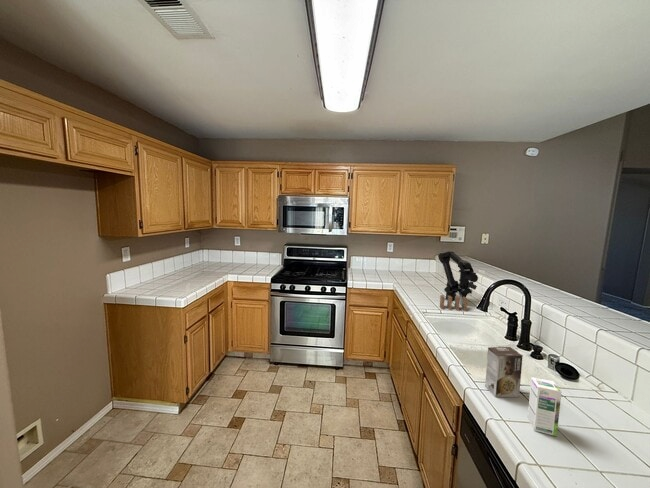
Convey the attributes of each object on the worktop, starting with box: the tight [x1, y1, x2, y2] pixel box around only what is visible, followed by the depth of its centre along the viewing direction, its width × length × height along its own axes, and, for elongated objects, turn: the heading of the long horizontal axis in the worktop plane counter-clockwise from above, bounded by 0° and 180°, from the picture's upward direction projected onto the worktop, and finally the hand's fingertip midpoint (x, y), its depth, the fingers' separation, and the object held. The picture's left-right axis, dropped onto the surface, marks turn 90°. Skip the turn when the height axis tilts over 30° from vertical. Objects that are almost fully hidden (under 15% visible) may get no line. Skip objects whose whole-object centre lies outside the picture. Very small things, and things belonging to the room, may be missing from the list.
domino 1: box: [439, 294, 446, 310], centre depth 189 cm, size 2×5×9 cm, turn 168°
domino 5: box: [461, 296, 469, 312], centre depth 186 cm, size 2×5×9 cm, turn 168°
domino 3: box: [453, 295, 460, 312], centre depth 187 cm, size 2×5×9 cm, turn 168°
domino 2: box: [446, 296, 453, 311], centre depth 188 cm, size 2×5×9 cm, turn 167°
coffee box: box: [484, 346, 523, 398], centre depth 98 cm, size 9×6×16 cm
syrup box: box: [527, 377, 562, 437], centre depth 81 cm, size 6×6×14 cm
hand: (462, 299), depth 197 cm, fingers closed on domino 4, 5 cm apart
